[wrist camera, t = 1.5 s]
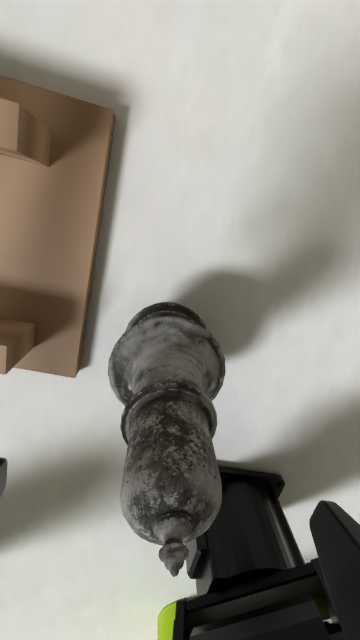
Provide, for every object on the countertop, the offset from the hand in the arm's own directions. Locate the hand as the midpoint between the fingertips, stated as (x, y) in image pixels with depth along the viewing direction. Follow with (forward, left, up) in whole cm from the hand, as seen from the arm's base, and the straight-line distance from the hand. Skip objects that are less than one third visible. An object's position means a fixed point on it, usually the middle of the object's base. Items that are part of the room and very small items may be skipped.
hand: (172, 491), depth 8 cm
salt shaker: (0, 0, -10) cm, 10 cm away
